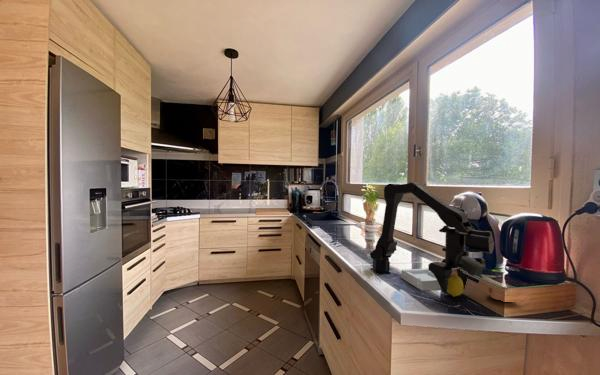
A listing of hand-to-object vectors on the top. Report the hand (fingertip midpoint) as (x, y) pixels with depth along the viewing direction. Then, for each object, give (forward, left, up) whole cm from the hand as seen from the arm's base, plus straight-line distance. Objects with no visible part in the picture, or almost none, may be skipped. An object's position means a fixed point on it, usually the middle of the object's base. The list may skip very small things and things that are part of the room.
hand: (453, 290), depth 82 cm
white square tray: (-2, +12, -2) cm, 12 cm away
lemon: (0, 0, -2) cm, 2 cm away
